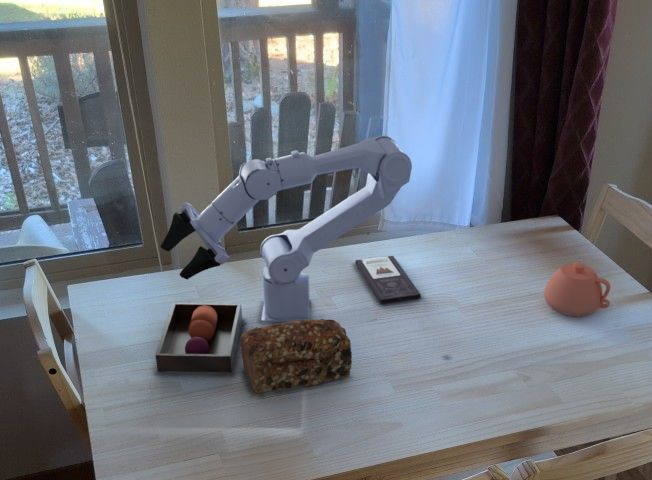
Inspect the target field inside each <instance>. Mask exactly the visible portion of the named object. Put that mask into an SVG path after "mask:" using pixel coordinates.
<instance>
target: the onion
mask: <svg viewBox="0 0 652 480" xmlns="http://www.w3.org/2000/svg"><path fill="white" fill-rule="evenodd" d="M185 352H186V354H208V353H209V345H208V343H207V341H206V340H204V339H203V338H201V337H193V338H191V339H189V340H188V341H187V343H186V345H185Z"/></svg>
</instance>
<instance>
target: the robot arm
mask: <svg viewBox="0 0 652 480" xmlns="http://www.w3.org/2000/svg"><path fill="white" fill-rule="evenodd" d="M354 169H359V170H361V171H363V172H365V173H367V175H366V176H367V177H366V181H365V186H364V187H362V188H361V189H359V190H358V191H356V192H354V193H353V194H352V195H350V196H348V197H346V198H345V199H344V200H342V201H341V202H339V203H338V204H336V205H334V206H333V207H331V208H330V209H328V210H326V211H324V213H322V214H320V215H318V216H317V217H316V218H313V220H310V222H308V223H307V224H305V225H303V226H302V227H300V228H298V229H286V230H284V231H282V232H281V233H277V234H272V235H269V236H267V237H265V238H264V240H262V242H261V244H260V247H259V253H260V256H261V258H262V259H263V260H264V263H265V265H264V268H263V270H262V287H263V307H262V312H261V319H260V320H261V321H262V322H292V321H294V320H302V319H310V310H311V309H312V299H311V298H310V297H311V290H310V289H311V288H310V286H311V285H310V274H308V273H303V272H302V271H303V270H305V269H306V268H308V267H309V266H310V264H311V261H312V258H313V256H314V254H315V253H317V252H319V250H322V249H323V248H324V247H326V246H328V245H329V244H330V243H332V242H334V241H335V240H337V239H338V238H340V237H341V236H343V235H344V234H346V233H348V232H349V231H351V230H352V229H354V228H356V227H357V226H359V225H360V224H362V223H364V222H365V221H366V220H369V218H371V217H373V216H375V215H376V214H378V213H379V212H380V211H382V210H384V209H386V208H387V207H388V206H389V205H390V204H391V203H392V202H393V201H394V199H395V197H396V196H397V194H398V193H399V192H400V190H401V188H402V187H403V186H405V185H407V184H408V183H409V182H410V179H411V174H412V169H413V165H412V160H411V158H410V156H408V154H406V153H405V152H404V151H403V150H402V149H401V148H400V146H399V145H398V144H397V142H396V141H395V140H394V139H393V138H392V137H391V136H388V135H379V136H377V137H367V138H365V139H363V140H361V141H360V142H357V143H355V144H351V145H347V146H343V147H340V148H338V149H333V150H330V151H327V152H324V153H321V154H316V155H313V156H311V155H310V154H308V153H306V152H304V151H302V152H299V151H298V150H297V149H295V150H293V151H292V150H291V152H290V154H289V155H284V156H280V157H277V158H272V157H267V158H265V161H264V160H261V159H259V158H258V159H256V158H255V159H250V160H248V161H246V162H245V161H243V162H242V164H241V165H240V168H239V172H238V176H237V177H236V178H235V179H234V180H233V181H232V182H231V183H230V184H229V185H227V186H226V188H225V189H224V190H223V191H222V192H221V193H219V195H218V196H217V197H216V198H214V199H213V200H212V202H211V203H209V205H207V207H206V208H205V209H204V210H203V211H201V213H200V214H199V212H198V211H197V210H196V209H195V208H194V206H193V205H192V204H190V203H189V202H187V201H185V202H184V203H183V204H182V205H181V206H180V207H179V209H178V210H179V211H180V212H181V213H178V212H174V214H173V215H172V219H171V224H170V226H169V229H168V232H167V234H166V236H165V237H164V239H163V241H162V242H161V244H160V245H159V248H161V250H164V251H165V252H170V251H172V250H173V249H174V248H176V246H177V245H178V244H180V243H181V242H182V241H183V240H184V239H186V237H188V236H190V235H192V234H193V233H195V232H196V234H197V235H198V236H199V238H200V239H201V240H202V242H203V243H204V244H205V246H206V247H207V248H205V247H204V246H202V245H200V246H199V247H198V248H197V251H196V253H195V254H194V256H193V257H192V259H191V260H190V261H189V262H188V263H187V264H186V266H184V267H183V268H182V270H181V271H180V272H179V276H180V277H181V278H183V279H185V280H189V279H191V278H193V277H195V276H196V275H197V274H199V273H202V272H205V271H207V270H209V269H212V268H217V267H220V266H221V265H224V264H225V263H226V262H227V261H228V260H229V259H230V256H229V254H228V253H227V251H226V250H225V247H224V246H223V243H222V241H221V239H222V238H223V237H225V236H226V234H227V233H228V232H229V231H230V230H231V229H232V228H233V227H234V226H235V225H236V224H237V223H239V221H240V220H242V218H244V217H245V216H246V214H247V213H248V212H249V211H250V210H252V208H254V206H256V204H257V203H259V201H264V200H266V201H268V200H270V199H272V198H273V197H274V196H275V195H276V193H277V192H279V191H280V192H281V191H283V190H288V189H292V188H295V187H300V186H305V185H309V184H312V182H313V181H314V180H315V179H316V177H317V176H319V175H324V174H329V173H330V174H331V173H336V172H343V171H347V170H354Z"/></svg>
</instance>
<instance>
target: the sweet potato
mask: <svg viewBox="0 0 652 480" xmlns="http://www.w3.org/2000/svg"><path fill="white" fill-rule="evenodd" d="M216 324H217V313H216V311H215V310H214V309H213V308H212V307H210V306H206V305H203V306H200V307H198V308H196V309H195V311H194V312H193V315H192V319H191V322H190V326H189V335H190V337H191V338H193V337H201V338H203V339H204V340H206V341H207V342H208V341H209V340H211V339H212V337H213V335H214V332H215V328H216Z"/></svg>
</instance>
